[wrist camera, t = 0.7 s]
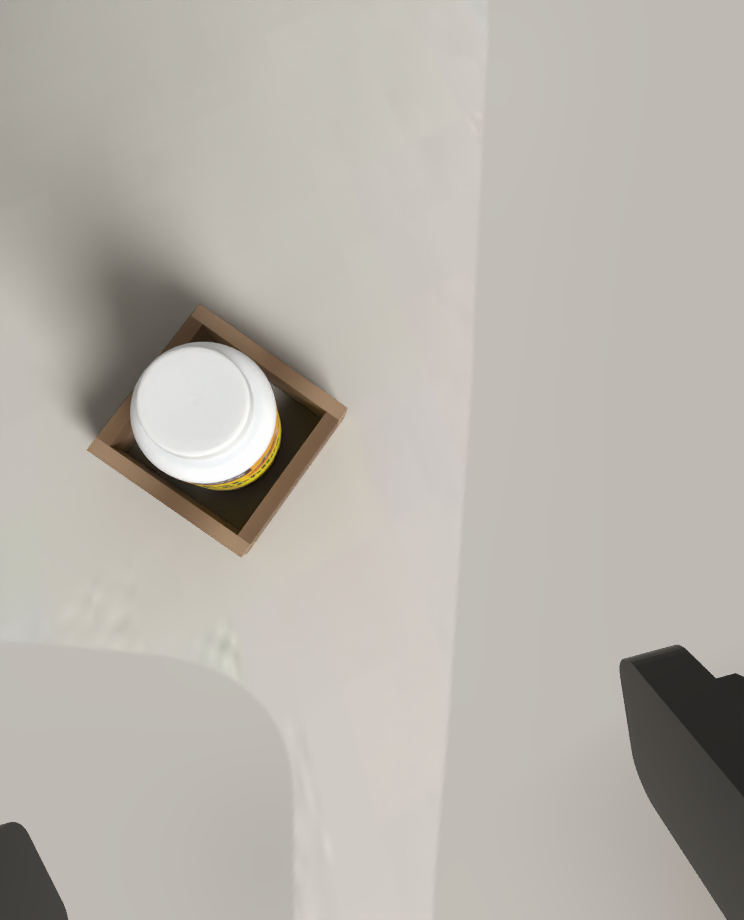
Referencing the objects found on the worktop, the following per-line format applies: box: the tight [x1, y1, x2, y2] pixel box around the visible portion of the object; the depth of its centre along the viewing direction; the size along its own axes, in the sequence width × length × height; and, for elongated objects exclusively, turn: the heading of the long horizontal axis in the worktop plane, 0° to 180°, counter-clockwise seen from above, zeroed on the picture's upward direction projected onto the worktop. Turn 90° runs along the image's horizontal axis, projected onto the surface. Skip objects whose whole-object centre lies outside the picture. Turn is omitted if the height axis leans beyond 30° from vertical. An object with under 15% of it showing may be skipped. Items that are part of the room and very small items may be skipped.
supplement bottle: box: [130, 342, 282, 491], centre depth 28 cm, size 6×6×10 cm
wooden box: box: [87, 304, 347, 557], centre depth 31 cm, size 8×8×3 cm
